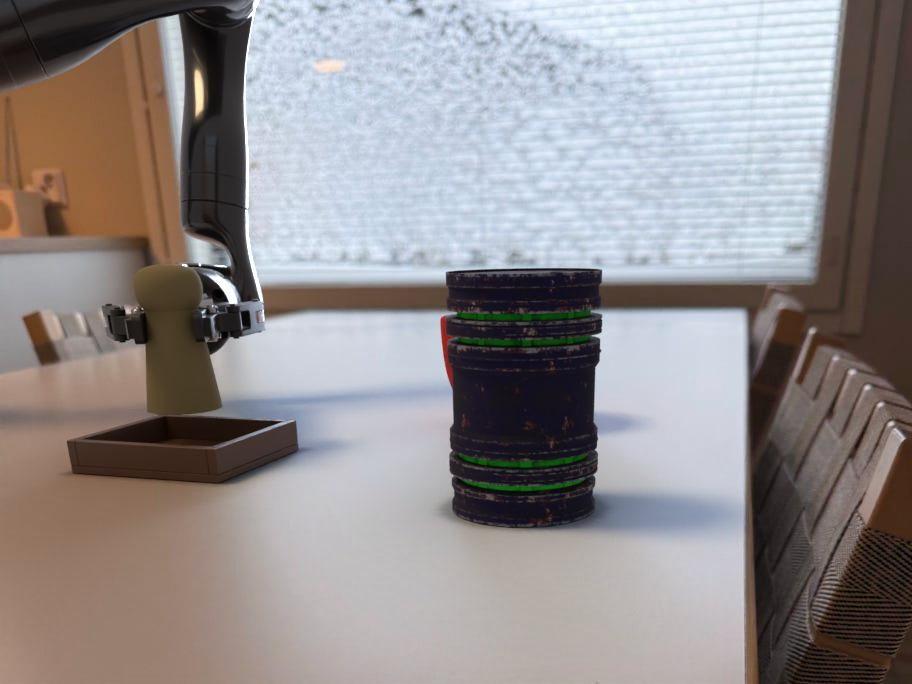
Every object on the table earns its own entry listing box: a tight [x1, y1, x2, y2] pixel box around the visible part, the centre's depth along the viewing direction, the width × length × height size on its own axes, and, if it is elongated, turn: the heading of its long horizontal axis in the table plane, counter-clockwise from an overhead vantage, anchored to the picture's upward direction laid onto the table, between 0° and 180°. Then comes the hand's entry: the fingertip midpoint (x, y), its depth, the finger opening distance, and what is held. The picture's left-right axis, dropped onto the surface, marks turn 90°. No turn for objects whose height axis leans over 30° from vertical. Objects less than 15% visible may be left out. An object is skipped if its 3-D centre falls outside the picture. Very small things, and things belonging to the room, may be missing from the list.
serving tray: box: [66, 414, 300, 484], centre depth 79 cm, size 14×13×3 cm
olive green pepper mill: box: [132, 263, 224, 415], centre depth 76 cm, size 6×6×11 cm
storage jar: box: [445, 267, 603, 528], centre depth 62 cm, size 10×10×15 cm
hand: (168, 328), depth 73 cm, fingers closed on olive green pepper mill, 4 cm apart
